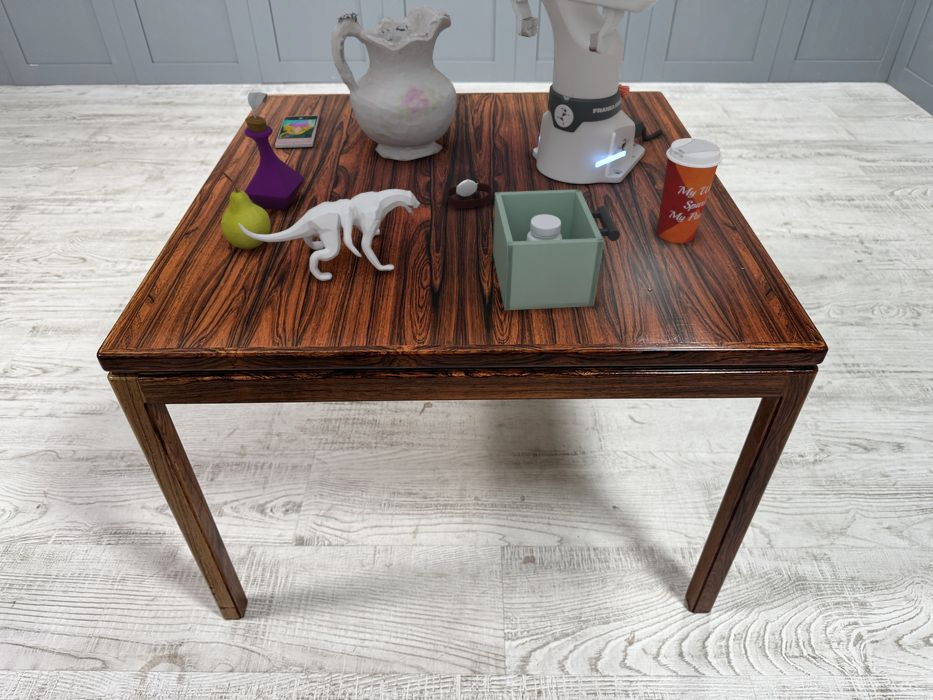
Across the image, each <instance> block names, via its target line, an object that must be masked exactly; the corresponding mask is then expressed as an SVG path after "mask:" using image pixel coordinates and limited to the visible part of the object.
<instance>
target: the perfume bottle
mask: <svg viewBox="0 0 933 700" xmlns="http://www.w3.org/2000/svg"><path fill="white" fill-rule="evenodd" d="M267 101H268V93H266V92H262V91H255V92H249V93H248V94H247V103H248V106H249V107H250V108H251V110H252V111H253V115H249V116H248V117H246V118H245V119H244V120H245V123H246V125H247V126H248V127H246V128H245V130H244V135H245V136H246V137H247V138H249V139H252V141H254V142H255V144H256V146H257V149H258V152H259V162H258V163H259V164H258V166H257V168H256V171H255V172H254V175H253V176H252V178H251V180H250V182H249V183H248V184H247V186H246V188H245V189H244V190H243V191H244V192H245V193H246V194H247V195H248V197H249V199H250V200H251V202H252V203H254V204H255V205H257V206H259V207H261V208H263V209H268V210H278V211H286V210H287V209H288V208H289V207H290V205H291V204H292V203H293V202H294V201H295V199H296V198H297V195H298V193H299V191H300V189H301V187H302V185H303V183H304V181H305V177H304V176H303V175H302V174H301V173H299V172H298V171H297V170H295V169H294V168H293V167H290V166H289V165H288V164H287V163H285V162H284V161H283V160H282V159H280V158H279V156H278V155H277V154H276V152H275V151H274V149H273V147H272V146H271V143H270V140H269V138H270V136H271V135H272V134H273V132H274V131H273V129H272V128H271V126H270V125H268V124H267V120H266V119H265V118H264V117H262V116H259V115H257V114H256V111H257V110H258V108H259V107H260V106H261V105H262V103H264V104H266V103H267Z"/></svg>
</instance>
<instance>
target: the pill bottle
mask: <svg viewBox="0 0 933 700" xmlns="http://www.w3.org/2000/svg"><path fill="white" fill-rule="evenodd" d="M560 230H561V221H560V219H559V218H557V217H555V216H553V215H548V214H542V215H537V216H535V217H533V218H532V219H531V224H530V231H529V233H528V234H527V240H526V241H539V240H562V235H561V233H560Z"/></svg>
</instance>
